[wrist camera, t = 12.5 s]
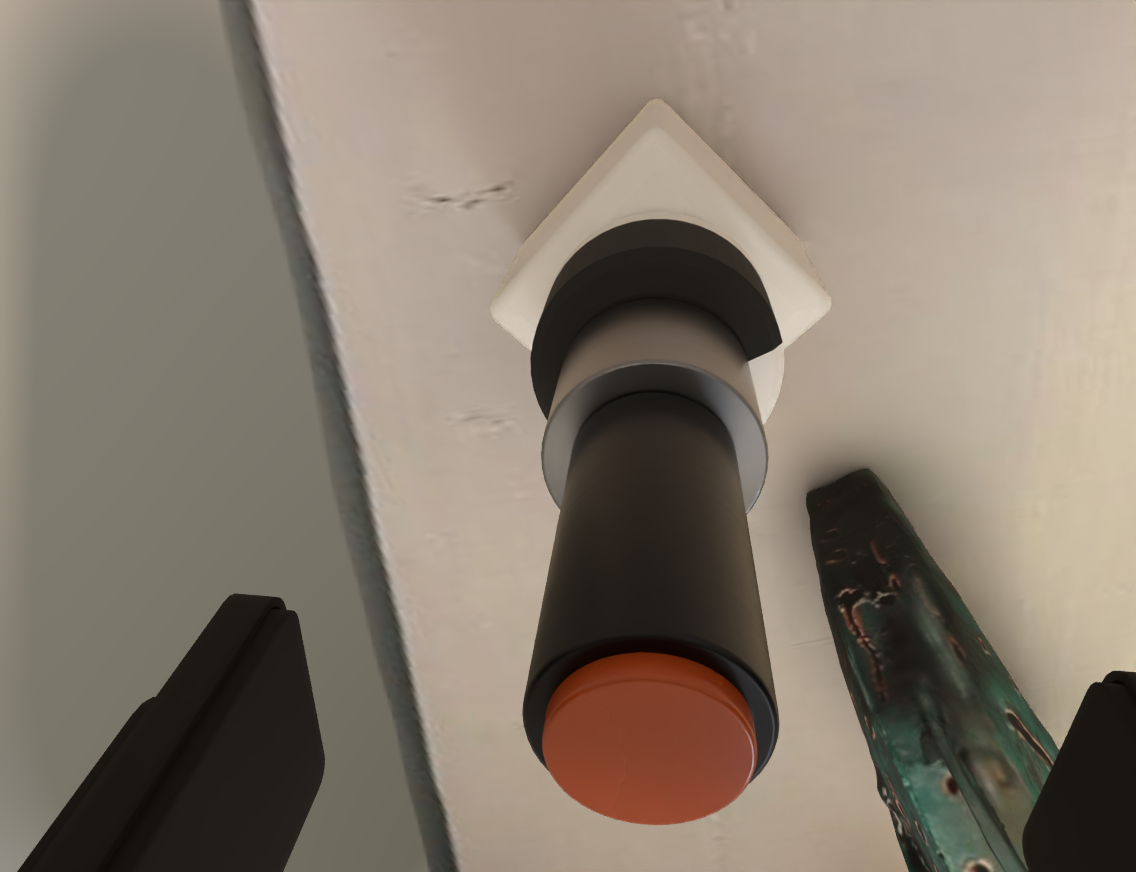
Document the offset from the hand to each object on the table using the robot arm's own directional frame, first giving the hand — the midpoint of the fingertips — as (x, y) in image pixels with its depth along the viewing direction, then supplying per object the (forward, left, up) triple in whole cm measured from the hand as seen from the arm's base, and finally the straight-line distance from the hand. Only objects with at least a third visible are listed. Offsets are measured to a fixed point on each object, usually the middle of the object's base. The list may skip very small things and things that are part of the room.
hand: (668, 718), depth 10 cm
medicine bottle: (0, 0, -22) cm, 22 cm away
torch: (0, 0, -10) cm, 10 cm away
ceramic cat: (+17, +13, -22) cm, 31 cm away
